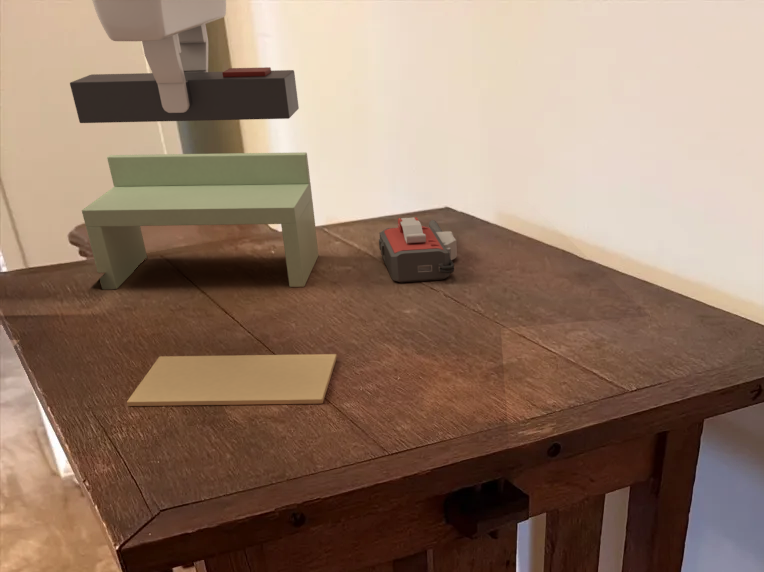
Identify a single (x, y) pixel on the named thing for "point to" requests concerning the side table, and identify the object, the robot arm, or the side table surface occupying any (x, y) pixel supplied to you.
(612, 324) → the side table surface
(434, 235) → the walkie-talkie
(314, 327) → the side table surface
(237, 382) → the mat
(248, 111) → the remote
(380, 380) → the side table surface
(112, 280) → the green bench
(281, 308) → the side table surface
